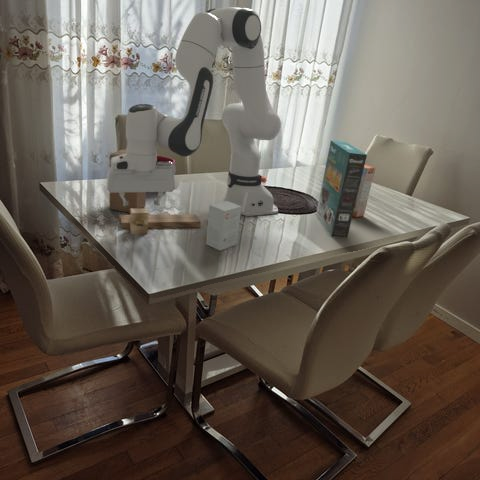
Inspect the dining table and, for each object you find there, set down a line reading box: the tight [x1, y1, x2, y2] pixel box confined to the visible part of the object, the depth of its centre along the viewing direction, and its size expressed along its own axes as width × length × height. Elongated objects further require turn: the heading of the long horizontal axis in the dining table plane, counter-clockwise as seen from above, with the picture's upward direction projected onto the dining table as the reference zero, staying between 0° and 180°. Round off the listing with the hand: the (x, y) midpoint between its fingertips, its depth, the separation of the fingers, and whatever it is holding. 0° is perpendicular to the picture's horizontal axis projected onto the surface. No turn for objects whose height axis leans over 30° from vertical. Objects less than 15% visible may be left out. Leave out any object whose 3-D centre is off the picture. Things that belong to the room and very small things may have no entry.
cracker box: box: [352, 164, 376, 218], centre depth 177 cm, size 14×6×21 cm, turn 38°
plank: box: [119, 213, 202, 230], centre depth 143 cm, size 26×7×2 cm, turn 109°
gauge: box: [129, 207, 150, 235], centre depth 136 cm, size 5×9×7 cm, turn 20°
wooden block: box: [109, 149, 147, 214], centre depth 149 cm, size 10×10×20 cm
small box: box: [205, 200, 242, 252], centre depth 131 cm, size 8×6×13 cm
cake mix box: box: [315, 140, 368, 239], centre depth 156 cm, size 22×6×30 cm, turn 5°
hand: (141, 205), depth 132 cm, fingers open, 8 cm apart
